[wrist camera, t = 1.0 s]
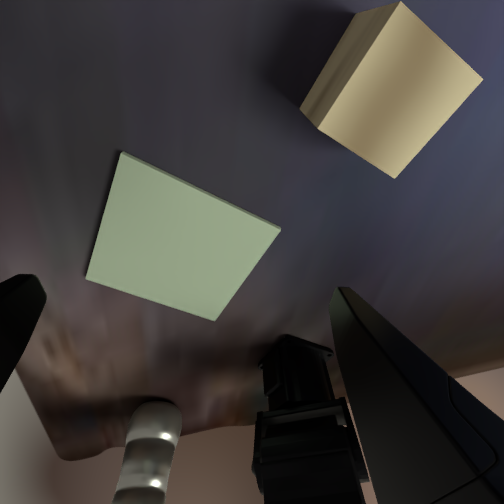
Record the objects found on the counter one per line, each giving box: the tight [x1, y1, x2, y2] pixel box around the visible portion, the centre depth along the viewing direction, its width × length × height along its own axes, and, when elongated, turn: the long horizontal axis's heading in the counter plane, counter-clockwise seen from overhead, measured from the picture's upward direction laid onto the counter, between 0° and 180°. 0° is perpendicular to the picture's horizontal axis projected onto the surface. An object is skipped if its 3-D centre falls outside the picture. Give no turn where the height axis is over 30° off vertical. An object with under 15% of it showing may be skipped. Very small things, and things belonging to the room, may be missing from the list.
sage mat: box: [86, 151, 281, 321], centre depth 23 cm, size 12×12×1 cm
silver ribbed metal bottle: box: [111, 401, 182, 504], centre depth 30 cm, size 6×7×20 cm
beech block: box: [299, 1, 483, 179], centre depth 14 cm, size 5×5×5 cm
